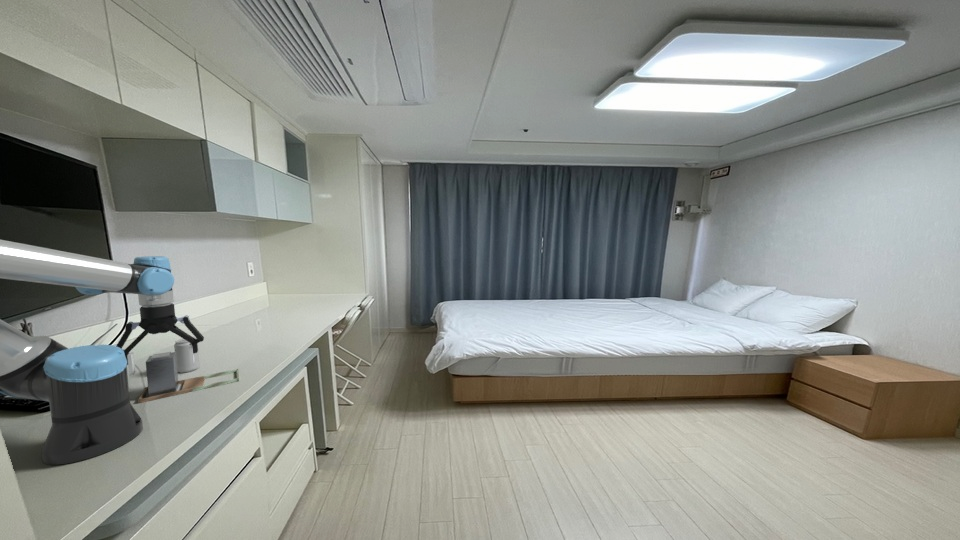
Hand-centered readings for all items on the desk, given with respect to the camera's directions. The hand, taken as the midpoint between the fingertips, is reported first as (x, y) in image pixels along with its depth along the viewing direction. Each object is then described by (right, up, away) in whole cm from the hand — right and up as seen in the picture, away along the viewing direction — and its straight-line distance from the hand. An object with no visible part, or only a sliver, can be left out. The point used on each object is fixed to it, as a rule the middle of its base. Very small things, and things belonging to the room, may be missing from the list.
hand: (163, 368), depth 98 cm
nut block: (0, -8, 0) cm, 8 cm away
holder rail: (+5, -8, +5) cm, 10 cm away
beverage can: (-8, -6, +17) cm, 20 cm away
